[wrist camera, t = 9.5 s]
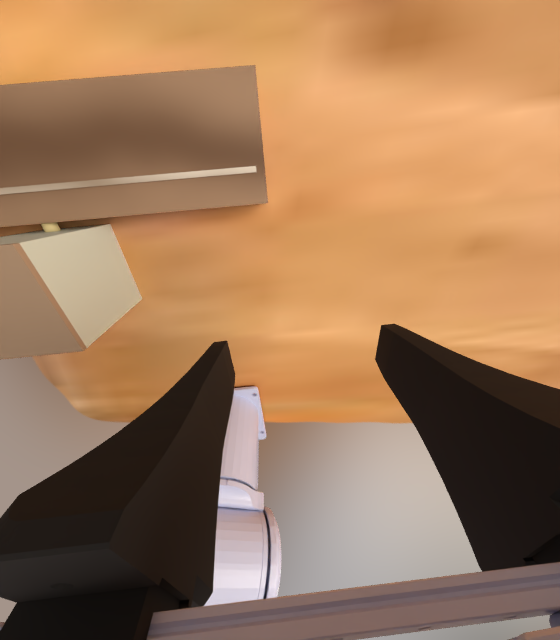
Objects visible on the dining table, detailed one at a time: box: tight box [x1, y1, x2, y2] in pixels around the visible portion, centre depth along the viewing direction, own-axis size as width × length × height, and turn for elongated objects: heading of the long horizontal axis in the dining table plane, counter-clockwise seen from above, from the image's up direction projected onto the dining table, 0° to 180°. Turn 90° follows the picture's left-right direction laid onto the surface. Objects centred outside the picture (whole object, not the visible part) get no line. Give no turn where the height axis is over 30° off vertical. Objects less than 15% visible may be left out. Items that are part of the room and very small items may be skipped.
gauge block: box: [0, 222, 142, 360], centre depth 14 cm, size 6×5×7 cm
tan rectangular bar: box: [0, 65, 268, 227], centre depth 13 cm, size 6×20×3 cm, turn 94°
